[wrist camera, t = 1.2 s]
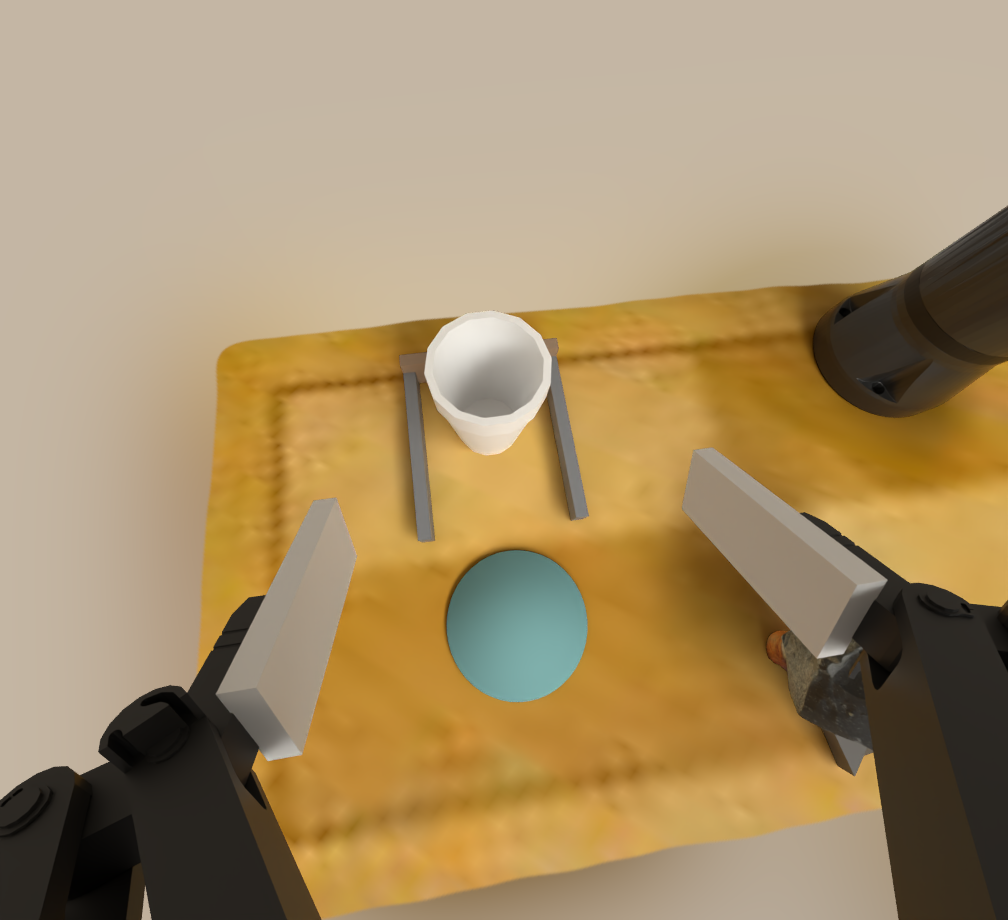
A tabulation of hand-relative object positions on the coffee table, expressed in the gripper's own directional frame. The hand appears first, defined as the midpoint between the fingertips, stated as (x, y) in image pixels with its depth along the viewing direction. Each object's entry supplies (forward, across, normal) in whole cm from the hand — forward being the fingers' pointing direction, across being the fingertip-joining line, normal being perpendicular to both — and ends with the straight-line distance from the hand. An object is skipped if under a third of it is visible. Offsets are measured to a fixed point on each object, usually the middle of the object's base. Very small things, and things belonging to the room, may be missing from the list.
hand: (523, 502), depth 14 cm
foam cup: (+26, +1, -9) cm, 27 cm away
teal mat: (+12, +1, -22) cm, 25 cm away
